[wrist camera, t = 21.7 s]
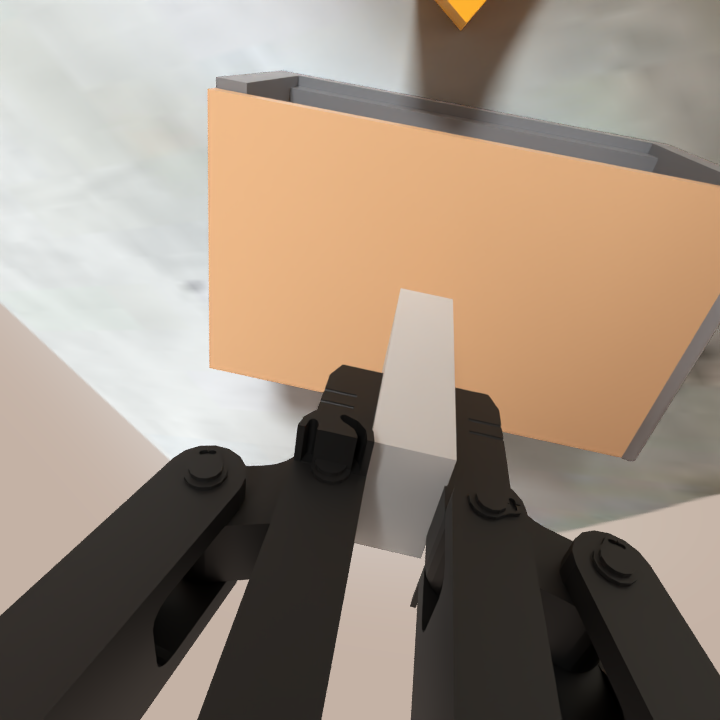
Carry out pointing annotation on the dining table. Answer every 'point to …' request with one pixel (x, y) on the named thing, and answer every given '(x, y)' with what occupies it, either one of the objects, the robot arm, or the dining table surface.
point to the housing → (475, 123)
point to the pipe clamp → (460, 10)
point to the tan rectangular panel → (458, 265)
